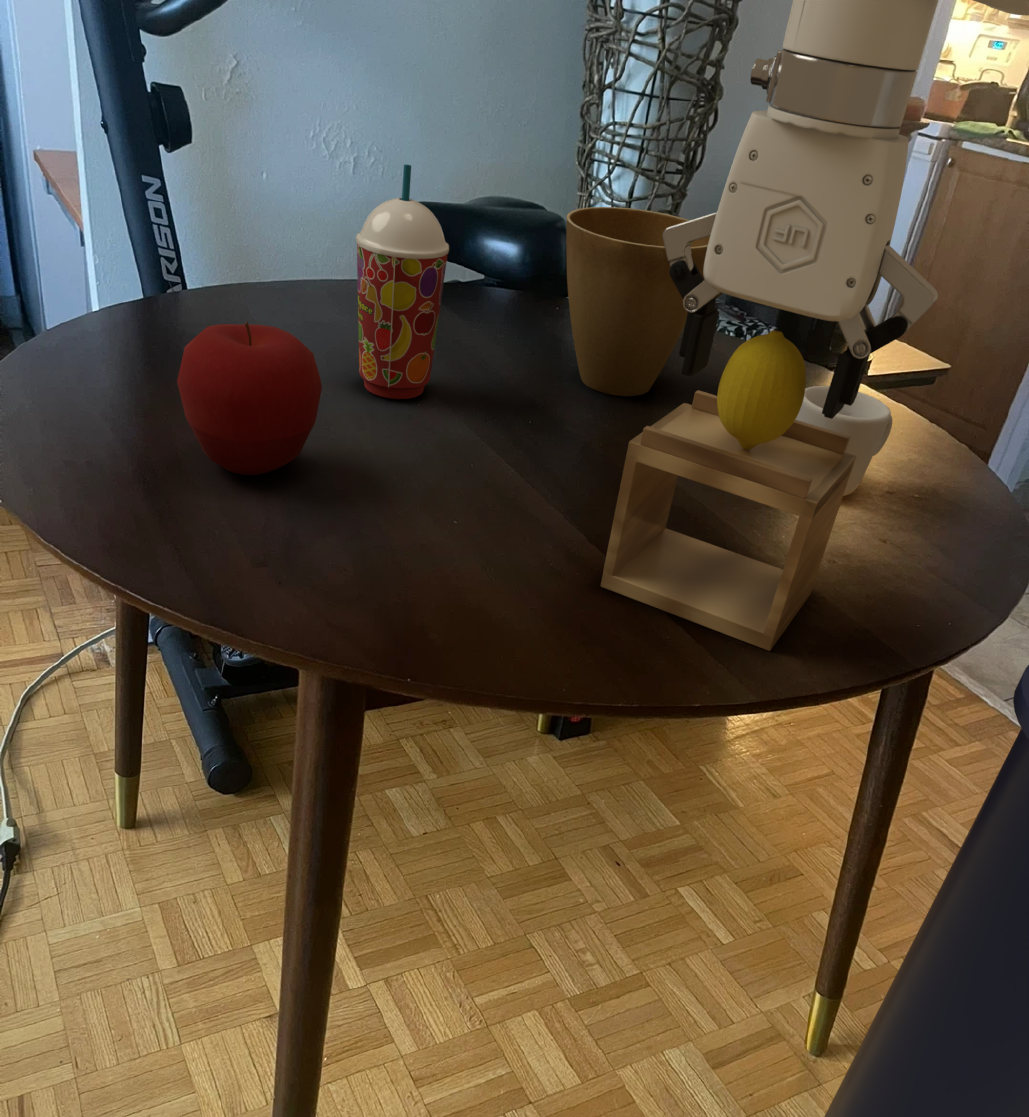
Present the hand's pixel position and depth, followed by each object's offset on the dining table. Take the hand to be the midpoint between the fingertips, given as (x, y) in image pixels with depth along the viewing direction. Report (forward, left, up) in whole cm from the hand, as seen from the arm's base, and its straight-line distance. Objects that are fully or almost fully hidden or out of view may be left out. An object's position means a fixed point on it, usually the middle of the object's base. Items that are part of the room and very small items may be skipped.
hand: (761, 391), depth 70 cm
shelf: (0, 0, -15) cm, 15 cm away
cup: (-2, -27, -15) cm, 31 cm away
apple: (+37, +7, -15) cm, 41 cm away
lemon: (0, 0, -4) cm, 4 cm away
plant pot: (+24, -35, -15) cm, 45 cm away
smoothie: (+39, -16, -15) cm, 45 cm away
